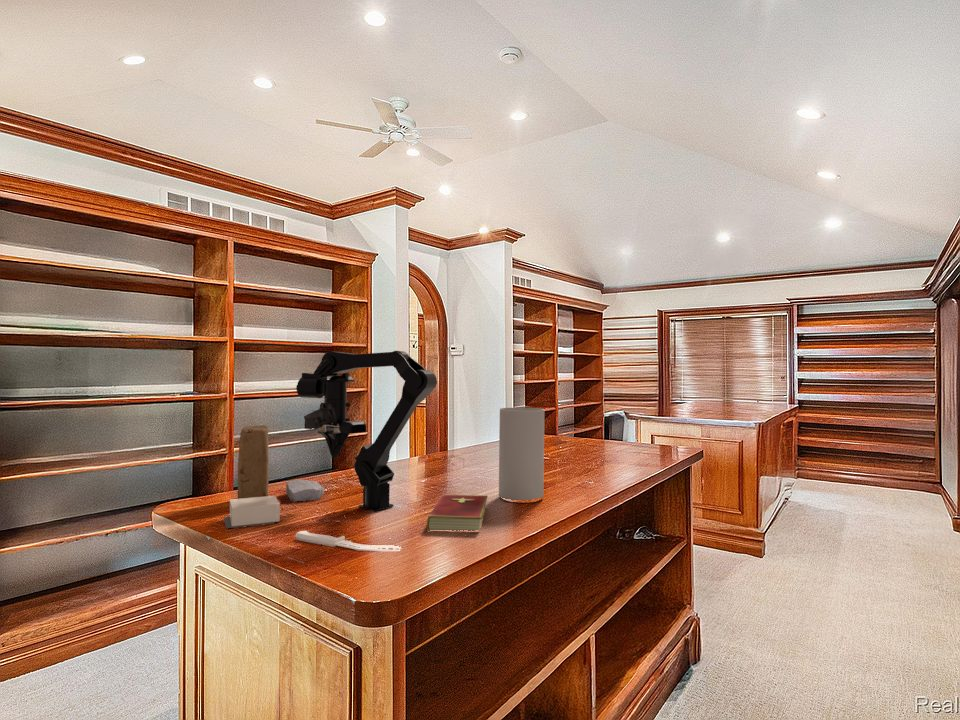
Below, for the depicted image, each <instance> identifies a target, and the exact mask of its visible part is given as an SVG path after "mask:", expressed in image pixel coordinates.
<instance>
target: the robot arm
mask: <svg viewBox="0 0 960 720" xmlns="http://www.w3.org/2000/svg"><path fill="white" fill-rule="evenodd" d="M382 367H383V368H385V367H393V368H395V370H396V372H397V374H398V375H399V376H400V378H402V380H404V383H403V385H402V389H401V397H400V399H399V401H398V403H397V404H396V406H395V408H394V409H393V411H392V412H391V413H390V415H389V418H388V419H387V421H386V422H385V423H384V425H383V427H382V428H381V431H380V432H379V434H378V435H377V437H376V439H375V440H374V442H373V443H369V444H367V445H363V446H362V447H361V448H360V450H359V453H358V454H357V456H356V457H354V460H355V462H354V464H353V469H354V472H355V474H356V475H357V479H358V481H359V484H360V486H361V487H363V489H362V504H359V505H358V508H360V509H364V510H369V511H374V512H379V511H382V510H385V509H389V508H392V507H394V504H393V503H390V490H391V489H390V488H391V487H390V483H389V482H392V481H393V480H394V477H395V473H394V471H393V470H392V469H391V468H390V467H389V466H388V462H389V460H390V452H391V449H392V447H393V446H394V444H395V443H396V441H397V439H398V438H399V436H400V434H401V433H402V431H403V429H404V428H405V426H406V425H407V424H408V422H409V420H410V418H411V416H412V414H414V412H415V410H416V408H417V406H418V405H419V404H421V402H423V401H424V400H425V399H427V397H428V396H429V395H430V394H431V393H432V392H433V391H434V390H435V388H436V387H437V385H438V380H437V376H436V374H435V373H434V372H433V371H431V370H429V369H427V368H425V367H424V366H423V365H422V364H420V363H419V362H418V361H416V360H415V359H414V358H412V357H411V356H410V355H409V354H408V353H407V352H406V351H403V350H393V351H387V352H371V353H370V352H369V353H358V354H357V353H351V352H350V353H349V352H343V351H326V352H325V353H324V354H323V355H322V358H321V361H320V363H319V364H318V365H317V367H316V368H315V370H314V372H313V373H311V372H302V373H301V377H300V378H299V380H298V381H297V383H296V386H295V387H296V393H297V395H298V397H300V398H303V399H322V398H323V402H320V404H319V409H317V410H314V411H312V412H310V413H308V414H306V415H304V416H303V419H304V429H306V430H313V429H314V430H318V429H319V430H318V431H317V433H318V434H320V435H321V436H322V437H324V439H325V441H326V444H327V446H328V450H329V453H330V457H331V458H332V459H336V458H338V456H339V454H340V452H341V450H342V448H343V447H344V445H345V442H346V440H347V438H348V437H349V436H350V435H351V434H361V433H367V423H366V422H365V421H363V420H350V418H349V417H347V407H351V406H350V404H351V403H350V402H347V394H348V393H347V392H348V390H347V387H348V386H347V385H348V384H347V383H354V382H355V379H354V378H353V377H352V376H351V375H350V374H349V373H350V372H353V371H355V370H358V369H359V370H360V369H366V368H368V369H369V368H382ZM340 374H341V375H340ZM328 378H329V379H328Z"/></svg>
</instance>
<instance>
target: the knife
mask: <svg viewBox="0 0 960 720" xmlns="http://www.w3.org/2000/svg"><path fill="white" fill-rule="evenodd" d="M295 540H297V541H300V542H306V543H311V544H316V545H321V544H322V545H323V546H328V547H332V548H333V547H334V548H335V547H341V548H346V549H350V550H351V549H352V550H354V551H360V552H361V551H363V552H383V553H384V552H385V553H386V552H401V550H402V548H403V547H402V546H400V545H398V546H394V544H382V545H379V544H377V545H375V544H374V545H372V544H363V543H355V542H352V540H346V537H345V535H342V536H339V537H335V536H331V535H329V534H318V533H312V532H309V531H308V530H300V531H298V532H296V533H295ZM399 546H400V547H399ZM401 547H402V548H401ZM400 549H401V550H400Z"/></svg>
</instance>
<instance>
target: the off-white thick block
mask: <svg viewBox="0 0 960 720" xmlns="http://www.w3.org/2000/svg"><path fill="white" fill-rule="evenodd" d="M280 507H281V503H280V501H279V500H278V498H277V497H276V495H268V496H264V497H253V498H242V499H238V498H234V499H233V498H231V499H229V516H230V521H231V525H232V526H241V525H250V524H259V523H268V522H274V523H275V522H280V516H281V514H280V513H281V512H280V511H281V510H280V509H281V508H280Z"/></svg>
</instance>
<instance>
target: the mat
mask: <svg viewBox="0 0 960 720" xmlns="http://www.w3.org/2000/svg"><path fill="white" fill-rule="evenodd" d="M224 520H225V521H224ZM223 521H224V525H225V526H226V527H225V526H224V527H225V529H226V528H227V529H226V530H229V529H228V528H234V529H238V528H237V527H242V528H245V527H244V526H251V527H255V526H254V525H260V526H264V525H263V524H269V525H274V524H275V522H268V523H259V524H250V525H241V526H232V525H231V521H230V515H229V516H224V517H223Z"/></svg>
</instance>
